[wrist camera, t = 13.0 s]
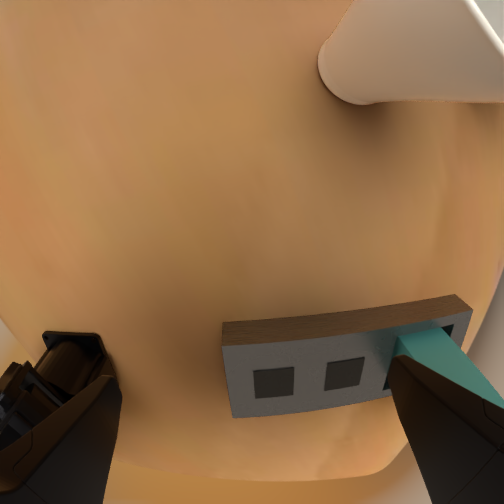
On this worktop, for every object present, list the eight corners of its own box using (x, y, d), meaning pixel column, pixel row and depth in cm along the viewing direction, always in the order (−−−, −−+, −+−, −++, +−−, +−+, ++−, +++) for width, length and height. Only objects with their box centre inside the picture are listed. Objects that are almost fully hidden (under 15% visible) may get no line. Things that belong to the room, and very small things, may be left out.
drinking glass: (369, 18, 15) (509, -74, 1) (409, 100, 18) (590, 90, 4) (286, 41, 16) (377, -111, 2) (331, 130, 18) (516, 126, 4)
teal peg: (379, 362, 25) (438, 471, 13) (388, 322, 24) (465, 435, 12) (418, 353, 25) (484, 448, 13) (429, 315, 24) (511, 410, 12)
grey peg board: (232, 393, 26) (232, 419, 23) (223, 322, 23) (221, 346, 20) (435, 360, 26) (449, 379, 23) (455, 294, 23) (473, 310, 20)
